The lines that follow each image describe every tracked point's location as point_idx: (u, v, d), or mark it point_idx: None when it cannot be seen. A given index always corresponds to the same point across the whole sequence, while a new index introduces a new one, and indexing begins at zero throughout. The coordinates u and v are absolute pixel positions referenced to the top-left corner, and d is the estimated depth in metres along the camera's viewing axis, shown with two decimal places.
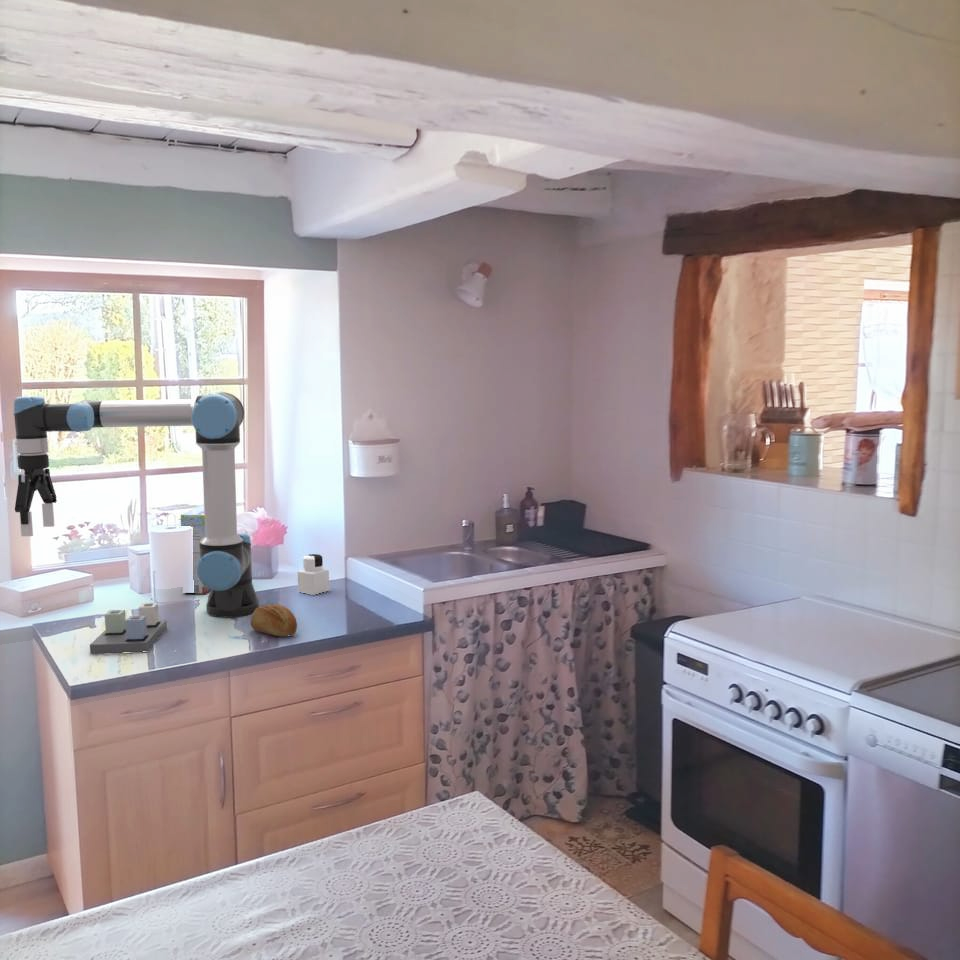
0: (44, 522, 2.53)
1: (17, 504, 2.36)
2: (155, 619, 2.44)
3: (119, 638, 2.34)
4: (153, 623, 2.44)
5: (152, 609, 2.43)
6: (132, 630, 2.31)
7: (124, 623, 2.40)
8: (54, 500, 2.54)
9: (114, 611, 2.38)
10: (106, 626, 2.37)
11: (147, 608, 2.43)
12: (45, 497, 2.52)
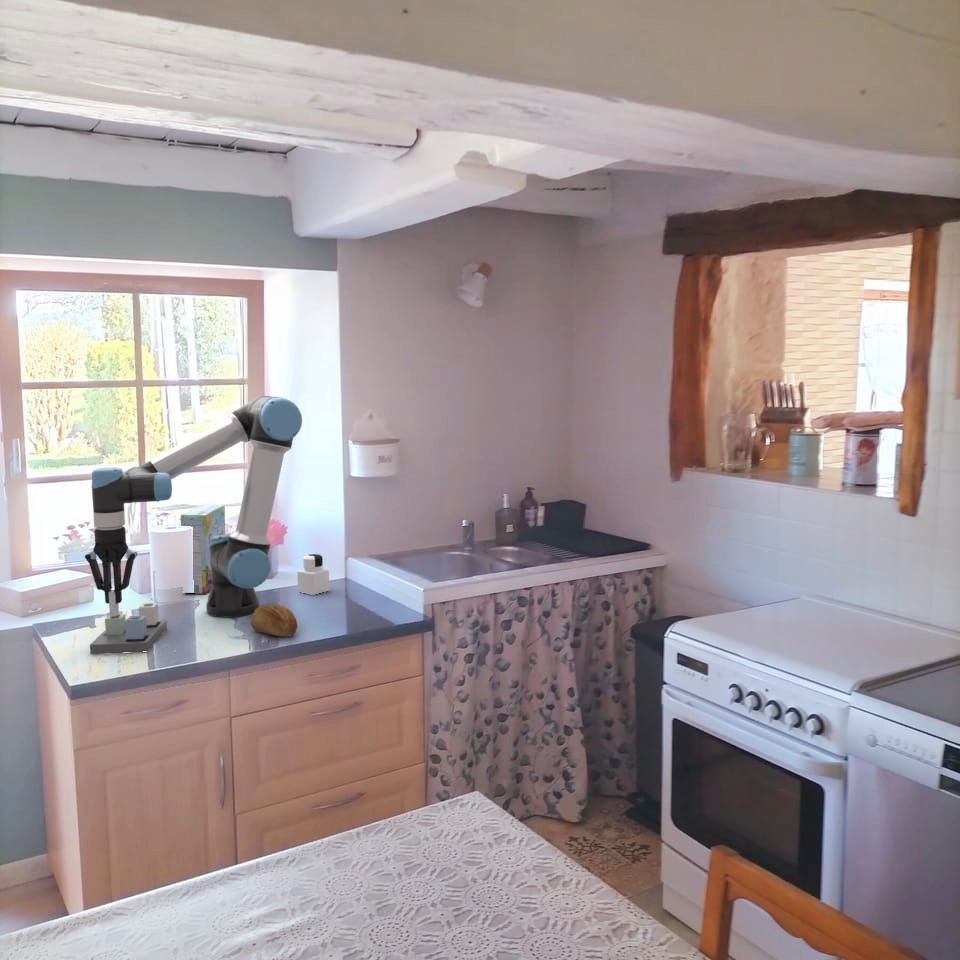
0: None
1: None
2: (155, 619, 2.44)
3: (119, 638, 2.34)
4: (153, 623, 2.44)
5: (152, 609, 2.43)
6: (132, 630, 2.31)
7: (124, 627, 2.40)
8: (116, 590, 2.36)
9: None
10: (106, 630, 2.37)
11: (147, 608, 2.43)
12: None
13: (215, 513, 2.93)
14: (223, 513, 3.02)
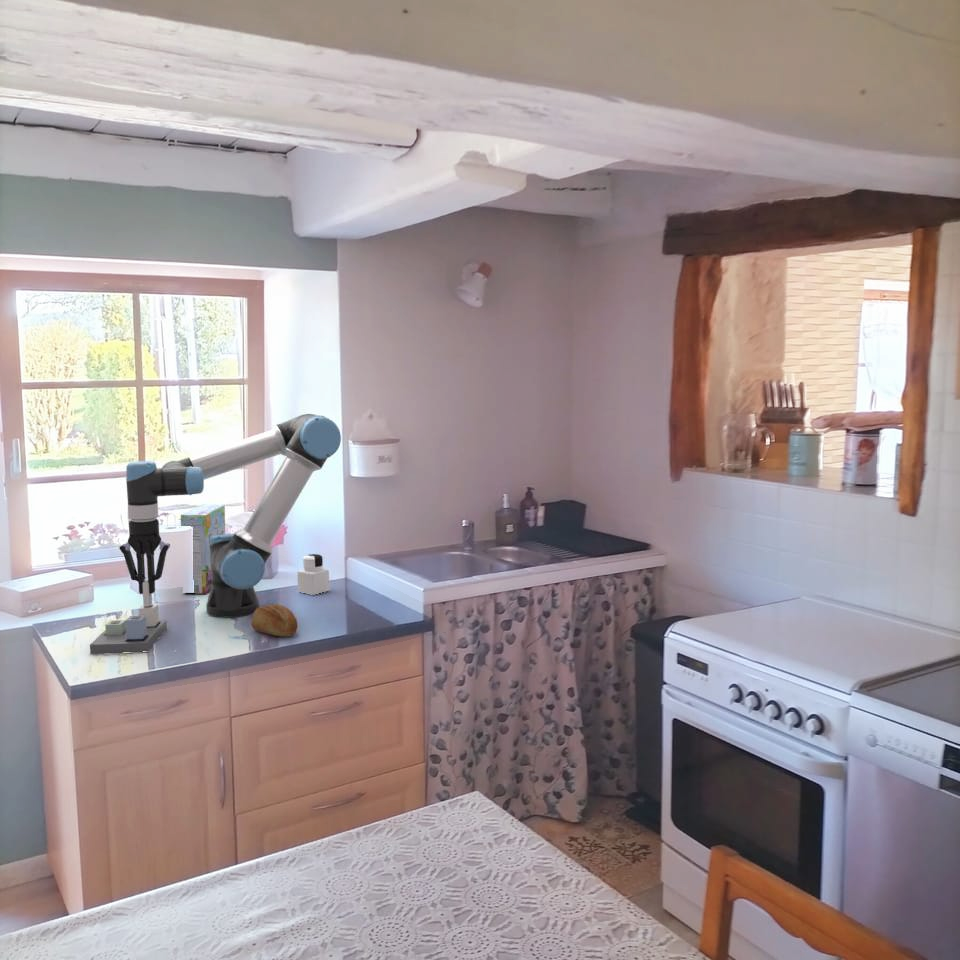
0: None
1: None
2: (155, 620, 2.44)
3: (119, 638, 2.34)
4: (153, 624, 2.44)
5: (152, 610, 2.43)
6: (132, 630, 2.31)
7: None
8: (150, 580, 2.42)
9: (115, 621, 2.39)
10: None
11: (147, 609, 2.43)
12: None
13: (215, 513, 2.93)
14: (223, 513, 3.02)
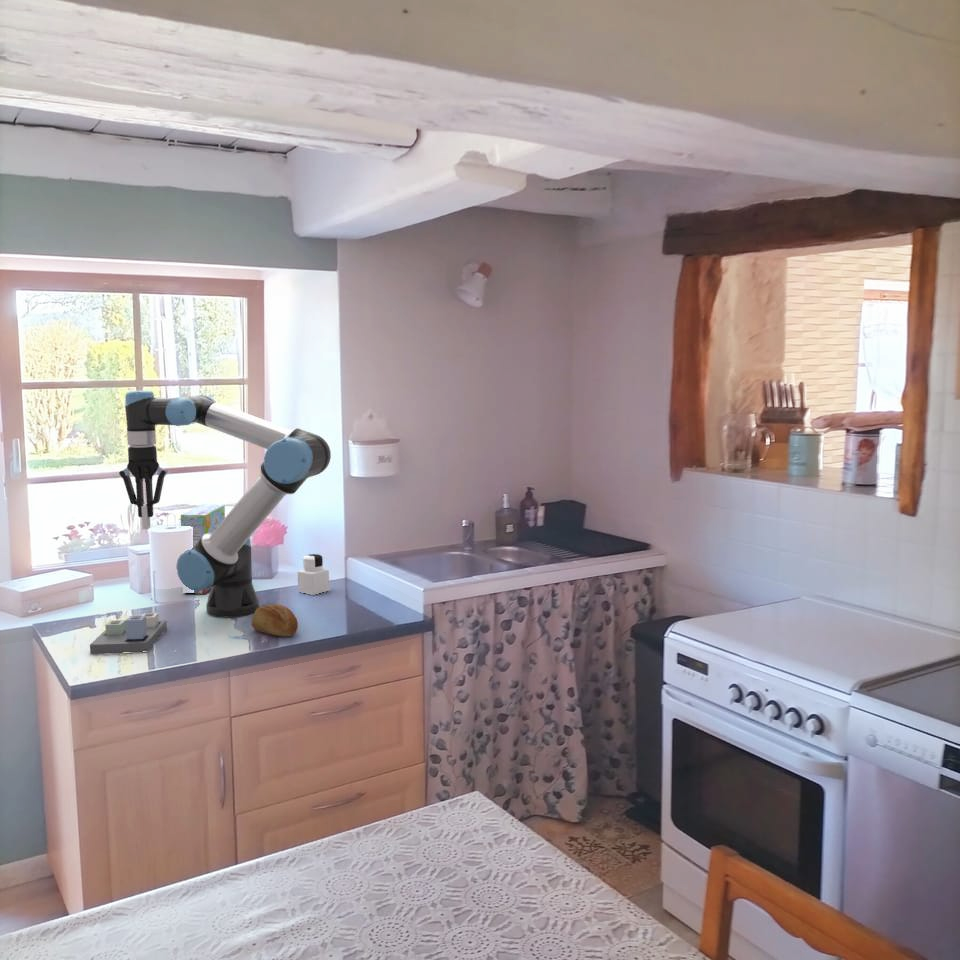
0: None
1: None
2: None
3: (119, 638, 2.34)
4: None
5: (153, 619, 2.44)
6: (132, 630, 2.31)
7: None
8: (148, 504, 2.54)
9: (115, 621, 2.39)
10: None
11: (148, 618, 2.43)
12: None
13: (215, 513, 2.93)
14: (223, 513, 3.02)
